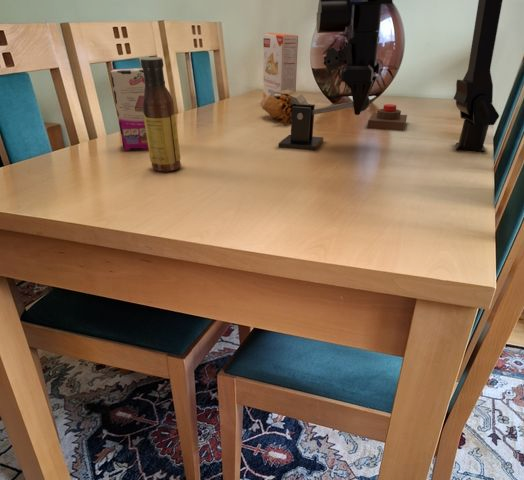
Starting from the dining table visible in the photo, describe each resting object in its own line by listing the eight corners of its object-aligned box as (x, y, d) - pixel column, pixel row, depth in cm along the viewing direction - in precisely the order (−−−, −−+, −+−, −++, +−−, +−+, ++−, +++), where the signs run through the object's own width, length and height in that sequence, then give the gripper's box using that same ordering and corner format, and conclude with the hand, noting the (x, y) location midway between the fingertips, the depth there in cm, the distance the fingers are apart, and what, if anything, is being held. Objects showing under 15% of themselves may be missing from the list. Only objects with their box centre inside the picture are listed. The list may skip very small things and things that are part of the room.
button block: (403, 131, 129) (405, 115, 127) (367, 128, 131) (369, 113, 129) (405, 123, 138) (408, 108, 136) (372, 120, 141) (374, 106, 138)
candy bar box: (168, 143, 115) (160, 67, 105) (170, 148, 111) (162, 69, 101) (122, 146, 112) (109, 67, 102) (123, 151, 108) (109, 70, 99)
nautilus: (301, 131, 130) (249, 131, 133) (312, 112, 146) (266, 113, 149) (301, 100, 125) (247, 100, 128) (312, 84, 141) (265, 85, 144)
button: (394, 113, 131) (396, 106, 130) (382, 112, 132) (383, 105, 131) (396, 111, 134) (397, 104, 133) (383, 110, 134) (384, 103, 133)
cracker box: (262, 104, 164) (262, 32, 151) (277, 103, 166) (279, 32, 153) (279, 110, 153) (281, 34, 141) (295, 109, 155) (299, 34, 143)
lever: (371, 108, 107) (369, 91, 105) (369, 110, 104) (367, 93, 102) (300, 122, 113) (298, 105, 111) (296, 124, 111) (294, 108, 109)
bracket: (323, 142, 117) (326, 103, 112) (314, 151, 110) (317, 110, 104) (289, 139, 120) (290, 101, 114) (278, 148, 112) (279, 108, 107)
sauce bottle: (167, 163, 101) (156, 55, 89) (187, 168, 97) (178, 57, 86) (144, 169, 96) (128, 57, 85) (163, 175, 93) (150, 59, 81)
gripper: (335, 30, 107) (331, 106, 116) (318, 34, 92) (315, 119, 102) (384, 29, 104) (376, 107, 113) (375, 33, 90) (366, 121, 99)
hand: (358, 113), depth 107 cm, fingers closed on lever, 3 cm apart
